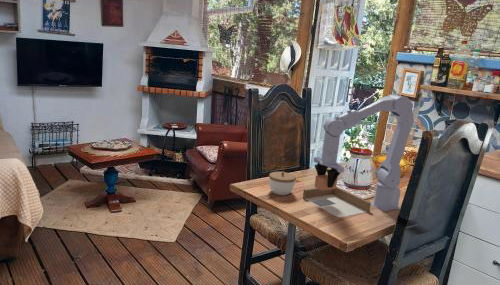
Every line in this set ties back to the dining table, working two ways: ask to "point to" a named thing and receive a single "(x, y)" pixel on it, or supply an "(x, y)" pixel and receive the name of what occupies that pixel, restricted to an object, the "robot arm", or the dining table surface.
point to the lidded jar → (281, 182)
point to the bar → (323, 182)
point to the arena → (338, 201)
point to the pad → (323, 202)
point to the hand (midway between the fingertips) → (325, 184)
